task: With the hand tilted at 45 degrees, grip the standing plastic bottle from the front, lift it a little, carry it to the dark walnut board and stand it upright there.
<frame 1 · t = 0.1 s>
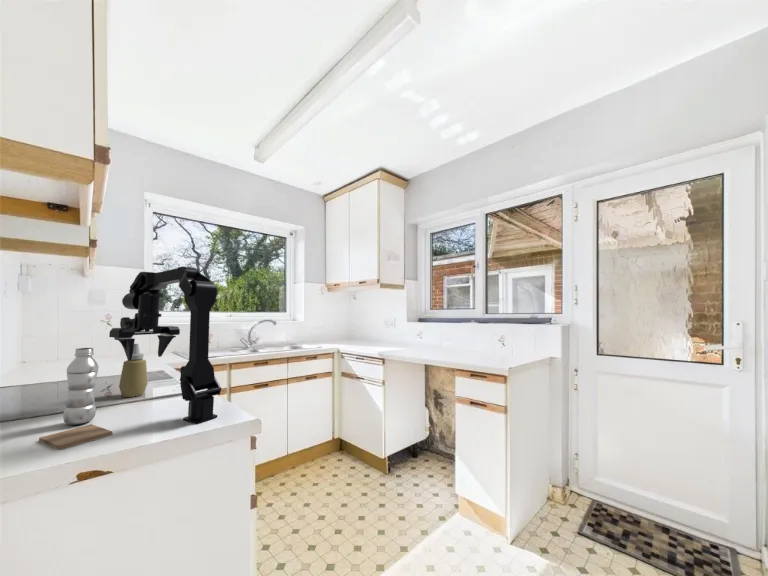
hand: (145, 358, 108), 15 cm above the table, tool pointing down, fingers open, 9 cm apart
plastic bottle: (79, 424, 89), on the table
walnut board: (76, 437, 80), on the table
squeeze bottle: (132, 396, 116), on the table
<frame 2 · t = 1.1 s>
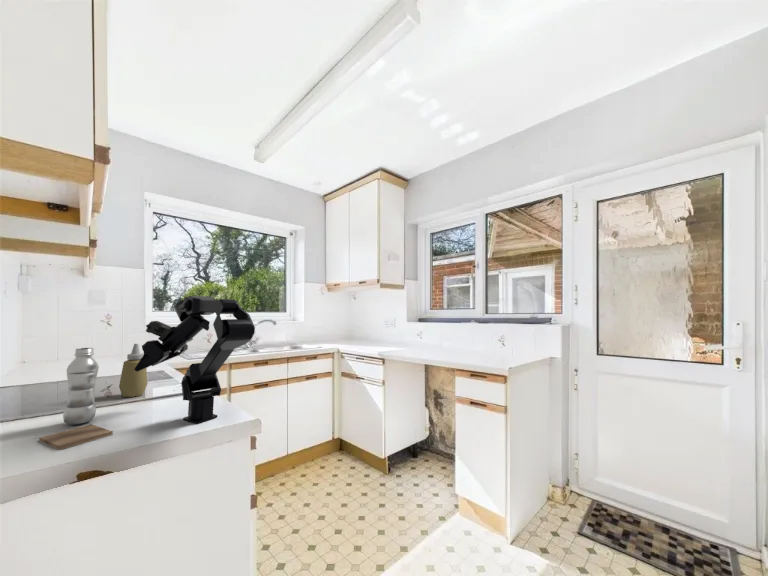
hand: (143, 367, 99), 13 cm above the table, tool tilted 45°, fingers open, 9 cm apart
nothing on the table moved.
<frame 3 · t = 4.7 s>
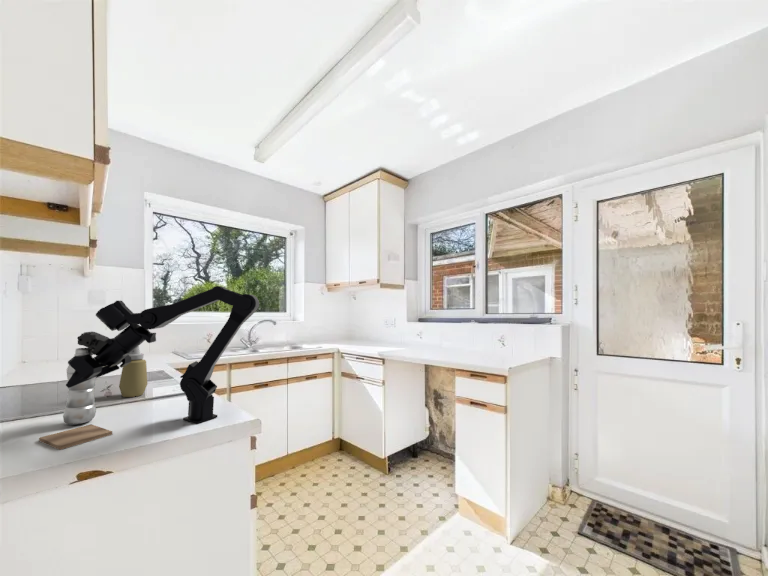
hand: (76, 383, 90), 11 cm above the table, tool tilted 45°, fingers closed on plastic bottle, 6 cm apart
plastic bottle: (79, 424, 89), on the table, touching gripper
everything else where it was.
when the fingers open (12 cm above the table, at t = 8.4 s): plastic bottle stays where it is, resting on walnut board.
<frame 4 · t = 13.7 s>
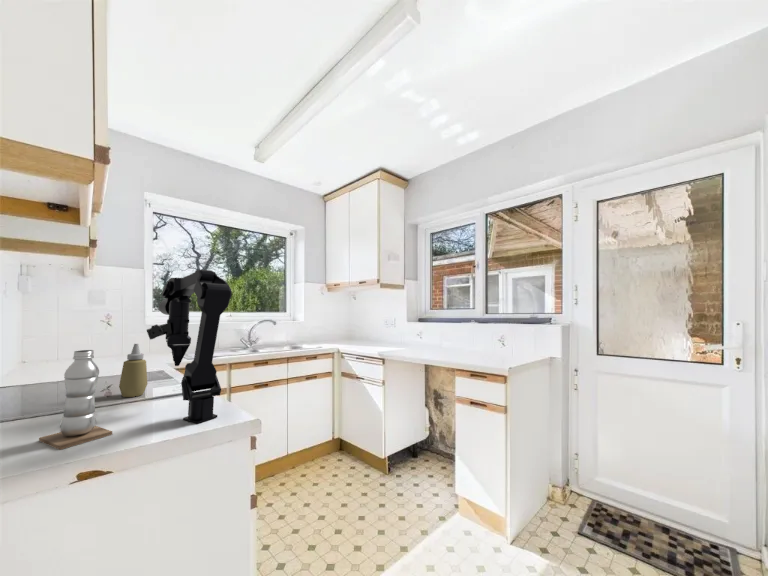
hand: (176, 363, 109), 13 cm above the table, tool pointing down, fingers open, 9 cm apart
plastic bottle: (77, 435, 80), point 1 cm above the table, touching walnut board
everything else where it was.
at the end: plastic bottle inside the target area on the walnut board (0.1 cm from its centre), point 0.6 cm above the walnut board's base; plastic bottle tilted 0°; the gripper is holding nothing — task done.
